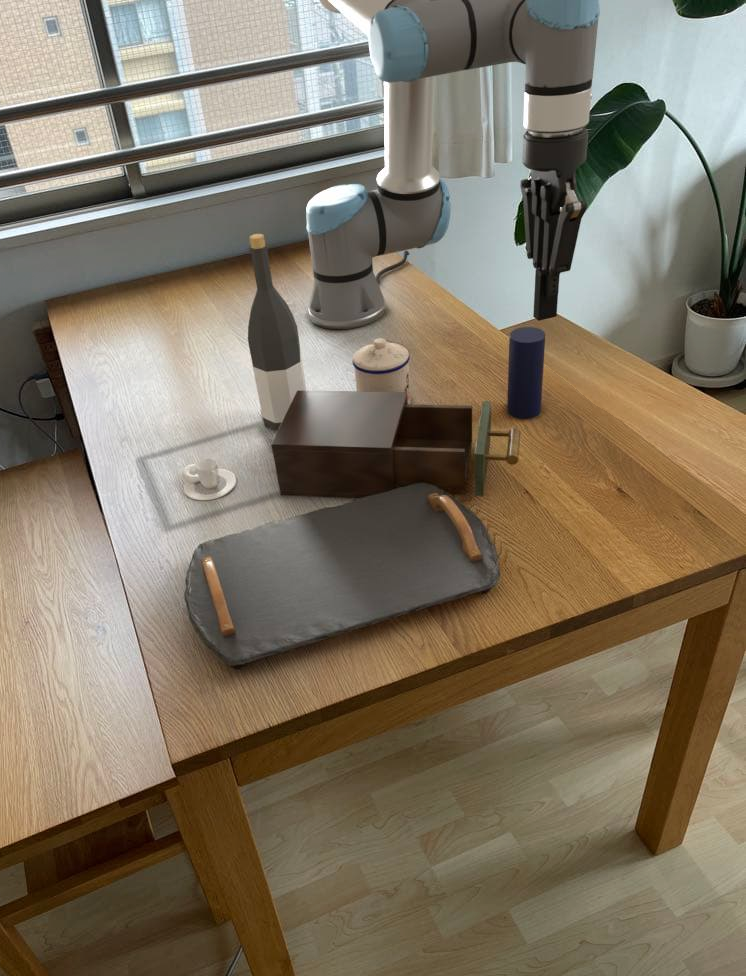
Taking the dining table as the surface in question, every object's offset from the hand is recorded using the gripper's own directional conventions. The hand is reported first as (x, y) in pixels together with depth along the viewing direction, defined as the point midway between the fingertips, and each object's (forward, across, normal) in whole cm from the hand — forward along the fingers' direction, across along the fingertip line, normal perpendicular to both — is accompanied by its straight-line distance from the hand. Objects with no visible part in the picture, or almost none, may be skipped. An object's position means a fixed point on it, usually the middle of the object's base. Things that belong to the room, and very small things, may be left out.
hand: (544, 316), depth 111 cm
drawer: (+18, -3, +16) cm, 24 cm away
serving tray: (+19, -19, +37) cm, 46 cm away
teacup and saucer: (+20, +11, +48) cm, 53 cm away
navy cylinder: (+19, +7, -1) cm, 20 cm away
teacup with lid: (+19, +20, +18) cm, 33 cm away
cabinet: (+19, +4, +29) cm, 35 cm away
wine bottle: (+19, +22, +34) cm, 45 cm away
